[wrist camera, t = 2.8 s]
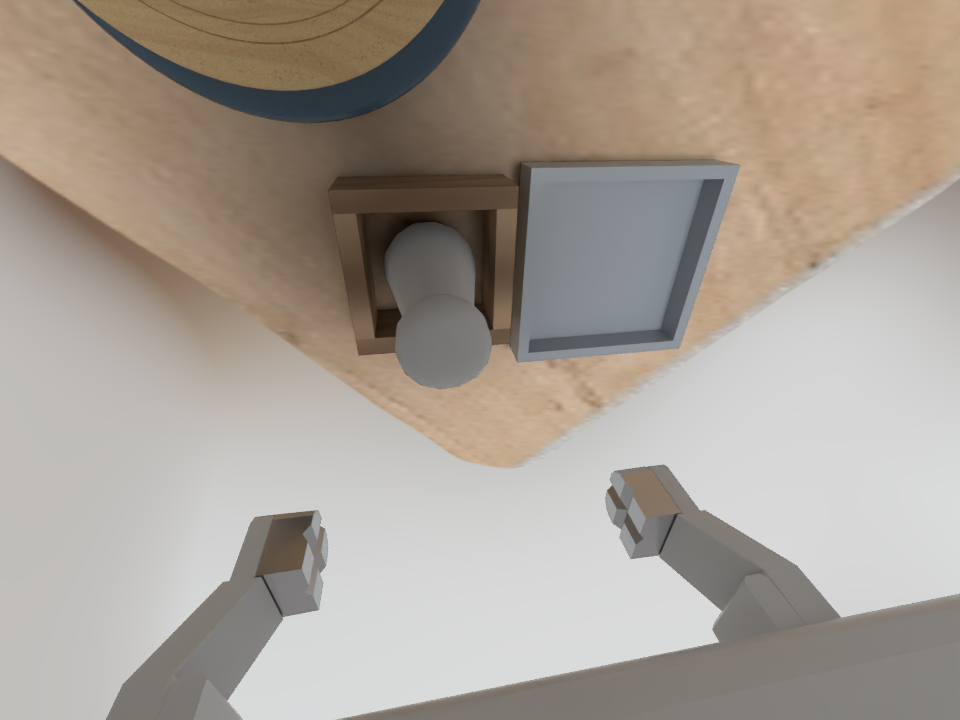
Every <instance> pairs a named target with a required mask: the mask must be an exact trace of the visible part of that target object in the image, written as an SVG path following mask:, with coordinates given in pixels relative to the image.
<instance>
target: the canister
mask: <svg viewBox="0 0 960 720" xmlns="http://www.w3.org/2000/svg"><path fill="white" fill-rule="evenodd" d="M73 1H74V2H75V3H76V4H77V5H78V6H79V7H80V8H81V9H82V10H83V11H84V12H85V13H86V14H87V15H88V16H89V17H90V18H91V19H92V20H93V21H94V22H96V23H97V24H98V25H99V26H100V27H101V28H102V29H104V30H105V31H106V32H107V33H108V34H109V35H110V36H112V37H113V38H114V39H115V40H116V41H117V42H119V43H120V44H121V45H123V46H124V47H125V48H126V49H128V50H129V51H130V52H131V53H133V54H134V55H135V56H137V57H138V58H139V59H141V60H142V61H144V62H145V63H147V64H148V65H149V66H151V67H152V68H154V69H155V70H156V71H158V72H160V73H161V74H163V75H165V76H166V77H168V78H169V79H171V80H173V81H174V82H176V83H178V84H179V85H181V86H183V87H185V88H187V89H189V90H190V91H192V92H194V93H196V94H198V95H200V96H202V97H205V98H207V99H209V100H211V101H213V102H215V103H218V104H221V105H223V106H226V107H228V108H231V109H233V110H237V111H240V112H243V113H246V114H250V115H253V116H258V117H262V118H266V119H271V120H278V121H285V122H297V123H322V122H331V121H339V120H344V119H348V118H353V117H356V116H360V115H363V114H366V113H369V112H371V111H374V110H376V109H379V108H381V107H383V106H385V105H387V104H389V103H391V102H393V101H395V100H396V99H398V98H399V97H401V96H403V95H404V94H406V93H407V92H409V91H410V90H411V89H413V88H414V87H415V86H416V85H418V84H419V83H420V82H421V81H423V80H424V79H425V78H426V77H427V76H428V75H429V74H430V73H431V72H432V71H433V70H434V69H435V68H436V67H437V66H438V65H439V64H440V63H441V61H442V60H443V59H444V58H445V57H446V56H447V55H448V53H449V52H450V51H451V49H452V48H453V47H454V45H455V44H456V42H457V41H458V40H459V38H460V37H461V35H462V33H463V32H464V30H465V29H466V27H467V25H468V24H469V22H470V20H471V18H472V16H473V14H474V13H475V11H476V9H477V7H478V5H479V3H480V0H73Z"/></svg>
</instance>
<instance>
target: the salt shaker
mask: <svg viewBox="0 0 960 720" xmlns="http://www.w3.org/2000/svg"><path fill="white" fill-rule="evenodd" d="M475 270H476V263H475V260H474V257H473V254H472V251H471V247H470V245H469V244H468V243H467V241H466V240H465V239H464V238H463V237H462V236H461V235H460V234H459V233H458V231H457V230H456V229H454V228H451V227H448V226H445V225H443V224H440V223H437V222H424V223H414V224H412V225H410V226H409V227H407V228H406V229H404V230H403V231H401V232H400V233H398V234H397V235H396V236H395V238H394V240H393V241H392V243H391V244H390V246H389V248H388V249H387V251H386V252H385V264H384V275H385V277H386V279H387V282H388V284H389V286H390V288H391V291H392V293H393V296H394V298H395V301H396V303H397V306H398V308H399V311H400V313H401V316H402V318H401V319H400V321H399V322H398V324H397V329H396V342H395V351H396V354H397V357H398V360H399V362H400V364H401V366H402V368H403V370H404V372H405V374H406V375H407V376H409V377H410V378H412V379H413V380H414V381H416V382H417V383H419V384H420V385H423V386H427V387H431V388H436V389H446V388H452V387H459V386H461V385H463V384H465V383H466V382H468V381H470V380H472V379H474V378H476V377H477V376H478V374H479V373H480V372H481V371H482V369H483V368H484V367H485V365H486V364H487V363H488V359H489V355H490V351H491V346H492V340H491V335H490V332H489V329H488V326H487V323H486V320H485V318H484V316H483V314H482V313H481V312H480V311H479V310H478V309H477V308H476V307H475V306H474V296H475Z"/></svg>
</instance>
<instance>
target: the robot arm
mask: <svg viewBox="0 0 960 720" xmlns="http://www.w3.org/2000/svg"><path fill="white" fill-rule="evenodd" d="M610 481H611V483H612V486H611V487H610V488H609V489H608V490H607V493H606V498H605V499H606V508H607V511H608V514H609V517H610V519H611V521H612V523H613V524H614V525H616V526H617V527H619V528H620V529H621V533H620V539H621V541H622V543H623V545H624V547H625V549H626V551H627V553H628V555H629V556H630V558H631V559H634V558H642V557H649V556H657V555H660V558H661V559H662V560H664V561H665V562H666V563H667V564H668V565H669V566H671V567H672V568H673V569H674V570H675V571H676V572H677V573H679V574H680V575H681V576H682V577H683V578H684V579H686V580H687V581H688V582H689V583H690V584H691V585H693V586H694V587H695V588H696V589H697V590H698V591H700V592H701V593H702V594H703V595H704V596H705V597H707V598H708V599H709V600H710V601H711V602H712V603H713V604H715V605H716V606H717V607H718V608H719V609H720V610H722V612H721V614H720V615H719V617H718V618H717V620H716V621H715V623H714V625H713V631H714V633H715V635H716V637H717V638H718V640H719V643H714V644H709V645H704V646H699V647H694V648H689V649H684V650H679V651H675V652H669V653H664V654H659V655H655V656H649V657H644V658H640V659H634V660H630V661H624V662H620V663H615V664H610V665H605V666H601V667H595V668H590V669H585V670H580V671H575V672H570V673H565V674H560V675H555V676H551V677H545V678H540V679H535V680H531V681H525V682H520V683H516V684H511V685H506V686H501V687H496V688H491V689H486V690H481V691H476V692H471V693H466V694H461V695H456V696H451V697H446V698H442V699H436V700H431V701H426V702H421V703H417V704H411V705H406V706H402V707H397V708H392V709H387V710H382V711H377V712H372V713H367V714H362V715H358V716H352V717H348V718H342V719H338V720H960V594H956V595H952V596H947V597H942V598H937V599H932V600H927V601H922V602H917V603H912V604H907V605H902V606H897V607H892V608H887V609H882V610H877V611H872V612H867V613H863V614H858V615H852V616H848V617H843V618H841V617H840V616H839V615H838V613H837V612H836V611H835V610H834V609H833V608H832V606H831V605H830V604H829V603H828V602H827V600H826V599H825V598H824V597H823V596H822V595H821V593H820V592H819V591H818V590H817V589H816V588H815V586H814V585H813V584H812V583H811V582H810V581H809V579H808V578H807V577H806V576H805V575H804V573H803V572H802V571H801V570H800V569H799V568H798V566H797V565H795V564H793V563H791V562H790V561H788V560H787V559H785V558H783V557H781V556H780V555H778V554H776V553H775V552H773V551H772V550H770V549H768V548H767V547H765V546H763V545H762V544H760V543H758V542H757V541H755V540H753V539H752V538H750V537H748V536H747V535H745V534H743V533H742V532H740V531H739V530H737V529H735V528H734V527H732V526H730V525H728V524H727V523H725V522H724V521H722V520H720V519H719V518H717V517H715V516H713V515H712V514H710V513H709V512H707V511H705V510H703V511H700V510H699V509H698V507H697V506H696V505H695V503H694V502H693V501H692V499H691V498H690V497H689V495H688V494H687V492H686V491H685V490H684V488H683V487H682V486H681V485H680V483H679V482H678V480H677V479H676V478H675V476H674V475H673V474H672V472H671V471H670V470H669V468H668V467H667V466H665V465H657V466H649V467H639V468H632V469H625V470H618V471H614V472H613V473H612V475H611V478H610ZM320 523H321V516H320V513H319V511H318V510H315V511H306V512H296V513H287V514H277V515H268V516H260V517H255V518H254V519H253V521H252V522H251V523H250V526H249V529H248V531H247V534H246V537H245V540H244V542H243V545H242V548H241V551H240V553H239V556H238V559H237V562H236V565H235V567H234V570H233V573H232V576H231V579H230V581H227V582H223V583H222V584H221V585H220V586H219V587H218V588H217V589H216V590H215V591H214V592H213V593H212V594H211V595H210V596H209V597H208V598H207V599H206V600H205V601H204V602H203V603H202V604H201V605H200V606H199V607H198V608H197V609H196V610H195V611H194V612H193V613H192V614H191V615H190V616H189V618H187V620H186V621H184V623H183V624H182V625H181V626H180V627H179V628H178V629H177V630H176V631H175V632H174V633H173V634H172V635H171V636H170V637H169V638H168V639H167V640H166V641H165V642H164V643H163V644H162V645H161V646H160V647H159V648H158V649H157V650H156V651H155V652H154V653H153V654H152V655H151V656H150V657H149V658H148V659H147V661H145V663H143V664H142V665H141V666H140V667H139V669H137V670H136V672H134V673H133V675H132V676H131V677H130V678H129V679H128V680H127V681H126V682H125V683H124V684H123V685H122V687H121V689H120V692H119V693H118V696H117V698H116V700H115V702H114V704H113V706H112V708H111V710H110V712H109V715H108V717H107V718H106V720H242V718H241V716H240V715H239V714H238V713H237V712H236V711H235V709H234V708H233V707H232V706H231V705H230V704H229V703H228V702H227V700H228V699H229V697H230V696H231V694H232V693H233V691H234V690H235V688H236V687H237V685H238V684H239V683H240V681H241V679H242V678H243V677H244V675H245V674H246V672H247V671H248V669H249V668H250V667H251V665H252V664H253V662H254V661H255V659H256V658H257V656H258V655H259V653H260V652H261V650H262V649H263V648H264V646H265V645H266V643H267V642H268V640H269V639H270V637H271V636H272V634H273V633H274V632H275V630H276V629H277V627H278V626H279V624H280V623H281V621H282V620H283V618H282V617H285V616H290V615H295V614H300V613H306V612H311V611H316V610H319V606H320V600H321V594H322V588H323V581H322V579H321V576H320V573H321V571H322V570H323V569H324V568H325V566H326V562H327V554H328V541H327V534H326V531H325V529H324V528H323V527H321V526H320Z"/></svg>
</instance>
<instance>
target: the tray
mask: <svg viewBox="0 0 960 720" xmlns="http://www.w3.org/2000/svg"><path fill="white" fill-rule="evenodd" d="M739 167H740V165H738V164H733V163H728V162H723V161H719V160H650V161H572V162H521V169H520V186H519V202H518V219H517V236H516V253H515V270H514V286H513V303H512V320H511V337H510V347H511V349H512V352H513V354H514V356H515V358H516V361H517V363H519V362H530V361H542V360H553V359H564V358H576V357H587V356H599V355H610V354H622V353H633V352H645V351H656V350H668V349H679V348H680V345H681V342H682V339H683V336H684V333H685V330H686V327H687V324H688V321H689V318H690V315H691V312H692V309H693V306H694V303H695V300H696V297H697V294H698V291H699V288H700V285H701V282H702V279H703V276H704V273H705V270H706V267H707V264H708V261H709V258H710V255H711V252H712V249H713V246H714V243H715V240H716V237H717V234H718V231H719V228H720V225H721V222H722V219H723V216H724V213H725V210H726V207H727V204H728V201H729V198H730V195H731V192H732V189H733V186H734V183H735V180H736V177H737V173H738V170H739Z"/></svg>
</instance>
